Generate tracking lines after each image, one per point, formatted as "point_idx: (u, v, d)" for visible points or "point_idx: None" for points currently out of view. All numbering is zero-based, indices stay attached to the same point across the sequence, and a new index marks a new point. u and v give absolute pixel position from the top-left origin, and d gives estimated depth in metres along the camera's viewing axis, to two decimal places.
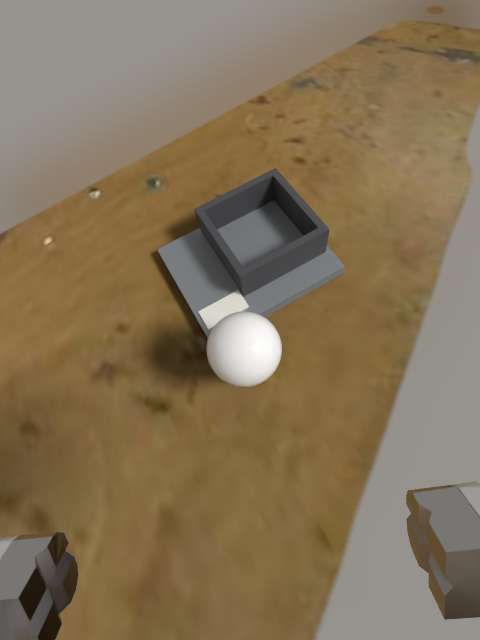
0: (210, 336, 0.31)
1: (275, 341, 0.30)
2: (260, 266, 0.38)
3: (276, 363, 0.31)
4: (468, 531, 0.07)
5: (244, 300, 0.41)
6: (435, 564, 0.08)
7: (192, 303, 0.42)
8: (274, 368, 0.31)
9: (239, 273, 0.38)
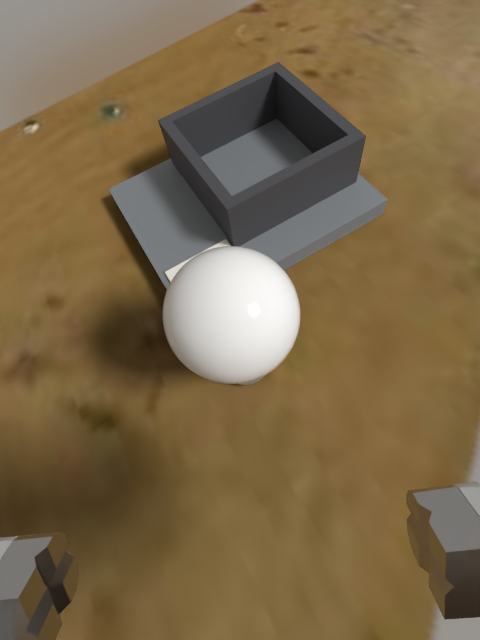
0: (167, 290, 0.17)
1: (289, 295, 0.16)
2: (258, 192, 0.24)
3: (291, 338, 0.16)
4: (468, 531, 0.07)
5: None
6: (435, 564, 0.08)
7: (156, 261, 0.27)
8: (287, 348, 0.16)
9: (225, 204, 0.24)
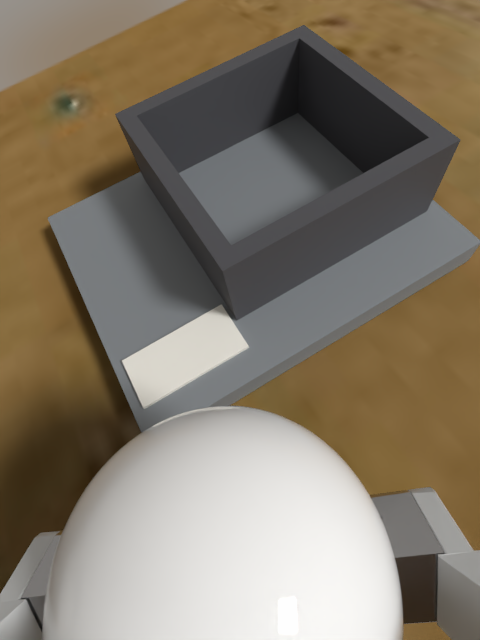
0: (56, 551, 0.06)
1: (388, 599, 0.06)
2: (277, 239, 0.14)
3: None
4: (415, 537, 0.07)
5: (236, 329, 0.16)
6: None
7: (110, 340, 0.17)
8: None
9: (219, 260, 0.13)
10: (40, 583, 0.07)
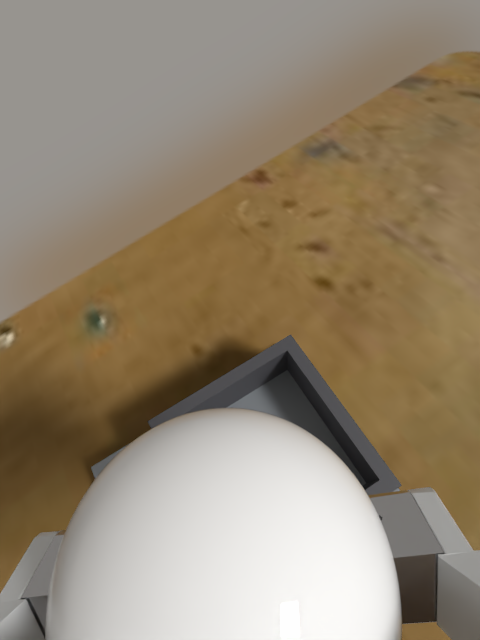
0: (59, 550, 0.06)
1: (386, 602, 0.06)
2: None
3: None
4: (415, 537, 0.07)
5: None
6: None
7: None
8: None
9: None
10: (40, 584, 0.07)
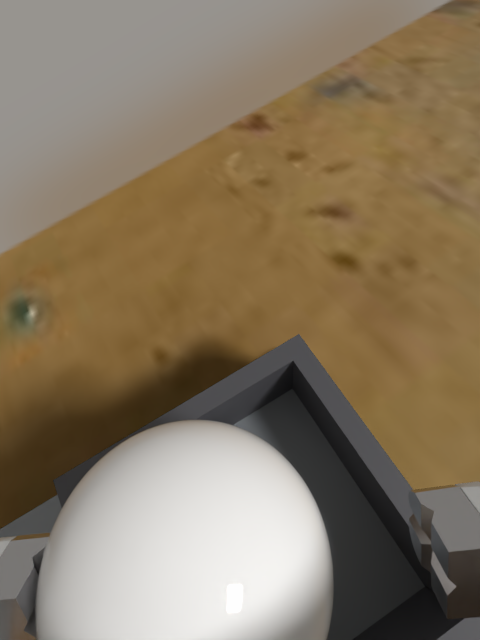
0: (49, 539, 0.08)
1: (318, 579, 0.07)
2: None
3: None
4: (471, 531, 0.07)
5: None
6: (437, 564, 0.08)
7: None
8: None
9: None
10: None
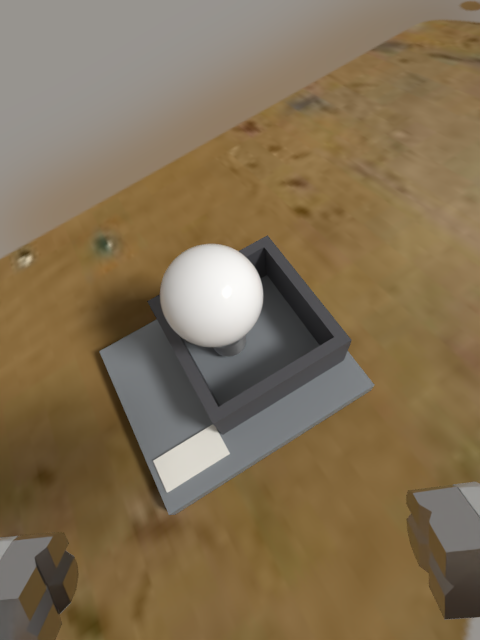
0: (163, 276, 0.22)
1: (252, 280, 0.22)
2: (244, 404, 0.24)
3: (254, 312, 0.22)
4: (468, 531, 0.07)
5: (222, 442, 0.27)
6: (435, 564, 0.08)
7: (145, 445, 0.28)
8: (252, 319, 0.22)
9: (211, 416, 0.24)
10: None
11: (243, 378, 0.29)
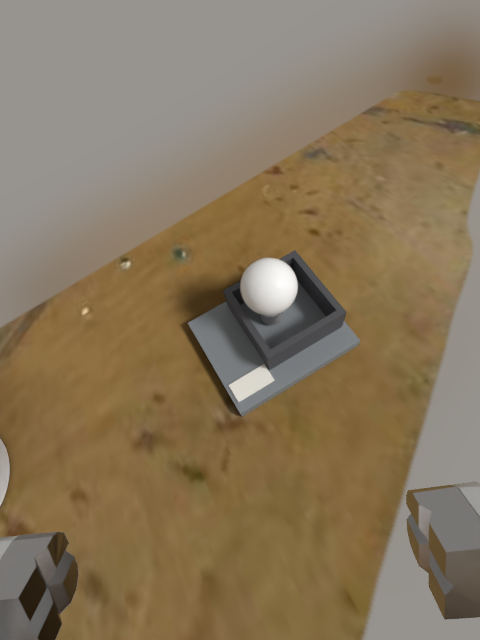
0: (243, 275, 0.41)
1: (293, 278, 0.40)
2: (285, 348, 0.43)
3: (294, 295, 0.40)
4: (468, 531, 0.07)
5: (269, 374, 0.45)
6: (435, 564, 0.08)
7: (222, 377, 0.46)
8: (292, 299, 0.40)
9: (267, 355, 0.42)
10: None
11: (280, 338, 0.47)
